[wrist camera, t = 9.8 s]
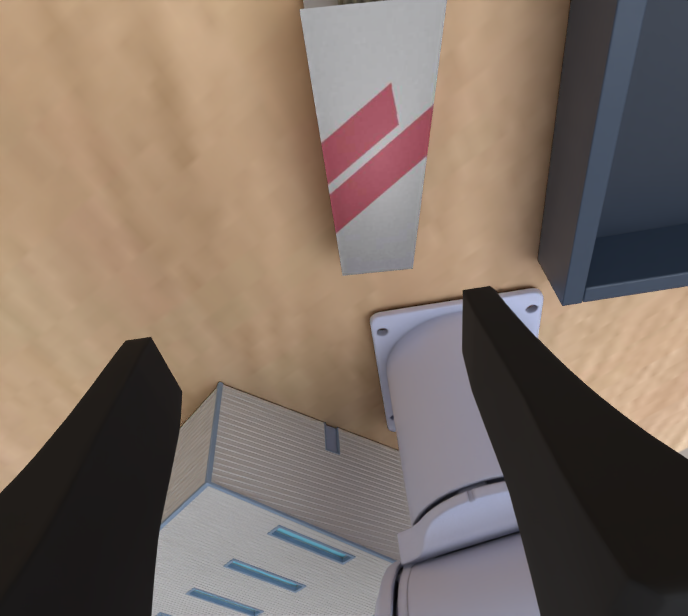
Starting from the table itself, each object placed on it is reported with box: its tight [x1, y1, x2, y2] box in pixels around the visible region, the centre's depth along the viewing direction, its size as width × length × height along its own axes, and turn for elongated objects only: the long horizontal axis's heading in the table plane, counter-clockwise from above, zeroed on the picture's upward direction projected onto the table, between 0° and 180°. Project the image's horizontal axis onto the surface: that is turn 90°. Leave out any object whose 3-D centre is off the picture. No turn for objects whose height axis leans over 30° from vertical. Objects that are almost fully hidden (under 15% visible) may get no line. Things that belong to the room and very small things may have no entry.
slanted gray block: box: [152, 382, 412, 616], centre depth 36 cm, size 30×14×8 cm, turn 143°
